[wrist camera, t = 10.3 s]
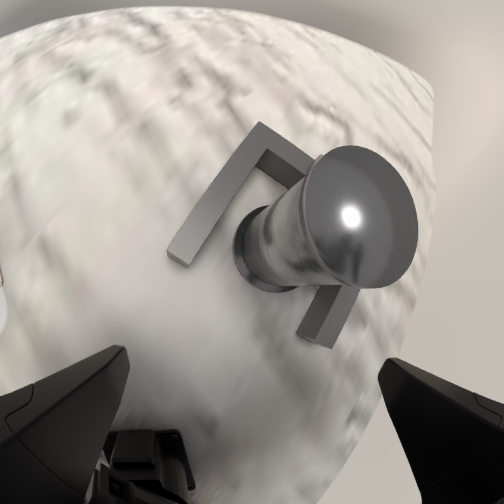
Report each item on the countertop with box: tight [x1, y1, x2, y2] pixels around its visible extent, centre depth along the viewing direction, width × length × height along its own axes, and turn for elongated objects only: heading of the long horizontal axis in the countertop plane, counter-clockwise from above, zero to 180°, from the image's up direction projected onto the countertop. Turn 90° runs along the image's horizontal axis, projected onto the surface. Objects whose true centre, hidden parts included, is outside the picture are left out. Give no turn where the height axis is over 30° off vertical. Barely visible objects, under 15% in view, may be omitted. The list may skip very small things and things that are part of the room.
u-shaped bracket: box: [166, 121, 361, 349], centre depth 19 cm, size 11×13×4 cm
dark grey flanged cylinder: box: [233, 145, 418, 292], centre depth 16 cm, size 6×6×11 cm
